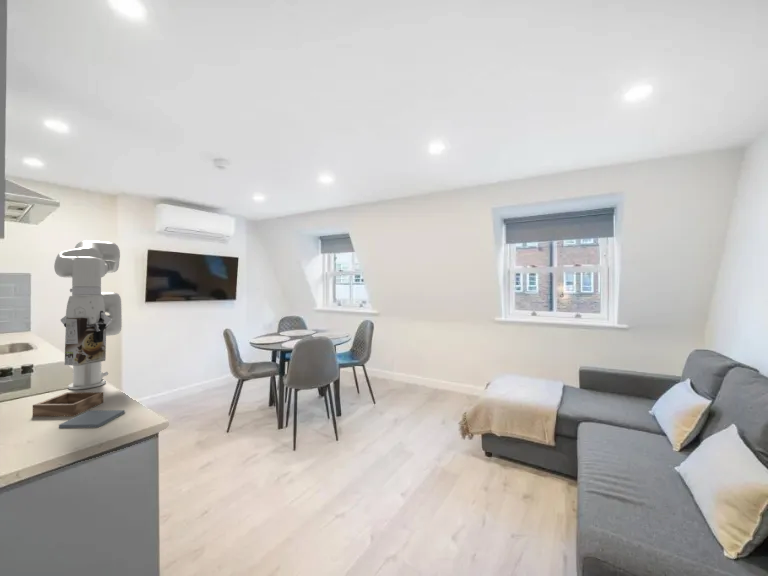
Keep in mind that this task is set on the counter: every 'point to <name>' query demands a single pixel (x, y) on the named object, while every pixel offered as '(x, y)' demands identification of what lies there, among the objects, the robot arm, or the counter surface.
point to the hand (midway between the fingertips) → (86, 341)
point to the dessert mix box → (82, 343)
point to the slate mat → (92, 419)
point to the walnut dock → (68, 404)
